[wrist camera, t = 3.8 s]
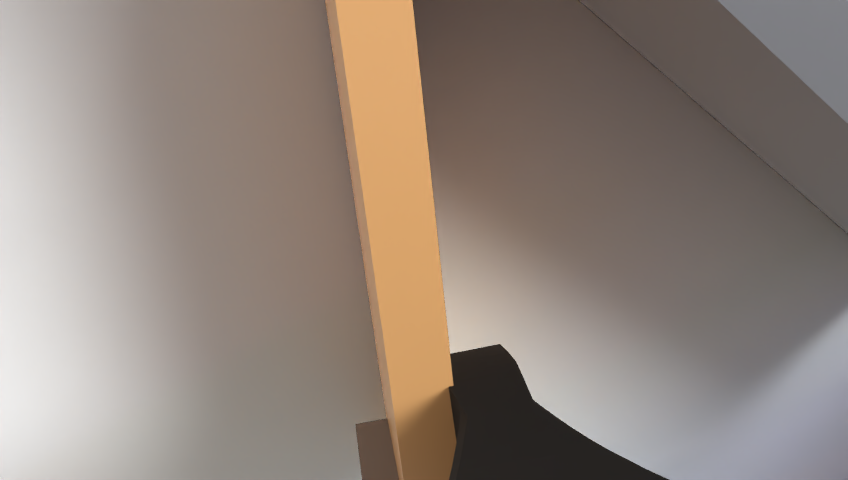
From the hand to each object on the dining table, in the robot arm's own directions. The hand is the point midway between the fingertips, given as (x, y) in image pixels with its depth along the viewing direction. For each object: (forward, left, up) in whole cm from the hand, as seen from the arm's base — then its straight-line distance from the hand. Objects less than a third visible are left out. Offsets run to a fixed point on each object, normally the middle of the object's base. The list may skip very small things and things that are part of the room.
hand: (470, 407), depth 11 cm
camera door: (+3, -1, -3) cm, 4 cm away
